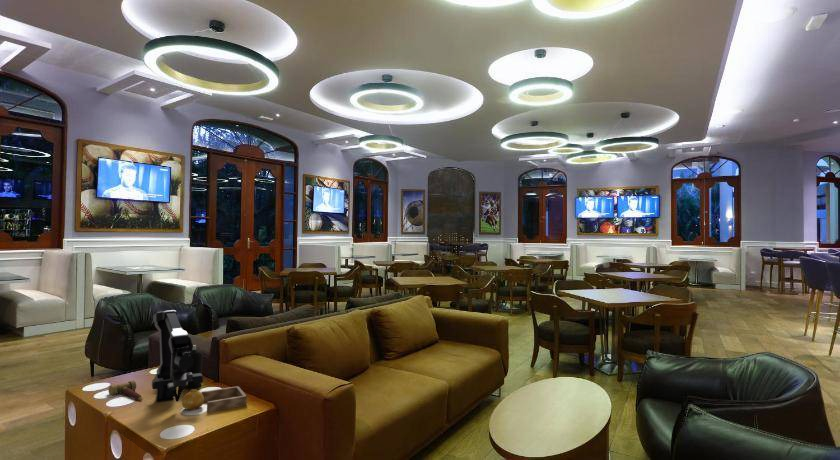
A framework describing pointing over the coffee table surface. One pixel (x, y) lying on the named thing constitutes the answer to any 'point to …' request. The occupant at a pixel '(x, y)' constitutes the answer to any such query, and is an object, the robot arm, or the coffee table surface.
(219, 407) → the tray
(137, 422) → the coffee table surface
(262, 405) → the coffee table surface
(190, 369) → the aerosol can
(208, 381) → the coffee table surface
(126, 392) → the gavel
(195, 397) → the fruit
